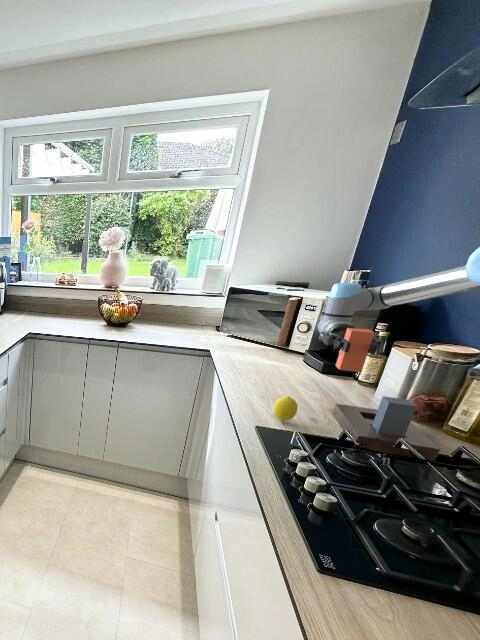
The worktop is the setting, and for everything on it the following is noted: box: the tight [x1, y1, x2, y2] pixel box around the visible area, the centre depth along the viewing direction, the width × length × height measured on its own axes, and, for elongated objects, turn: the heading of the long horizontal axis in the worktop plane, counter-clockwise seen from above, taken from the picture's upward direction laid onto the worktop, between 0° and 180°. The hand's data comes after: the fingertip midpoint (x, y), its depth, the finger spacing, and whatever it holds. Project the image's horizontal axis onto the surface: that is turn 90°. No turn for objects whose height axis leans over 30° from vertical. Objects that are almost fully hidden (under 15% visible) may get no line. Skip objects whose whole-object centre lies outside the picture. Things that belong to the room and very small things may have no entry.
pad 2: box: [372, 395, 417, 437], centre depth 104 cm, size 5×5×12 cm
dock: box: [331, 403, 441, 463], centre depth 110 cm, size 15×25×4 cm, turn 149°
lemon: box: [272, 395, 298, 422], centre depth 118 cm, size 6×6×8 cm
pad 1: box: [335, 328, 375, 373], centre depth 119 cm, size 5×5×12 cm
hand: (360, 348), depth 114 cm, fingers closed on pad 1, 5 cm apart
